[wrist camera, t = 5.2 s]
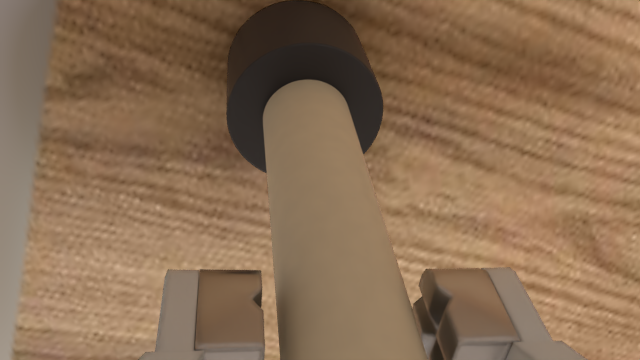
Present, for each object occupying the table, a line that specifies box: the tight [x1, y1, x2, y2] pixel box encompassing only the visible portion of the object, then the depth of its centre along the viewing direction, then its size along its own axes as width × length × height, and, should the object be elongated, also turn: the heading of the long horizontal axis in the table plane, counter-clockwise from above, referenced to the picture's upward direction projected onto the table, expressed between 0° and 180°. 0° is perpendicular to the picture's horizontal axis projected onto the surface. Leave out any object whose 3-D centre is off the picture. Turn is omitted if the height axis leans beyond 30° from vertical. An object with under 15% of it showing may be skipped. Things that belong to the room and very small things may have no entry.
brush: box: [226, 1, 428, 360], centre depth 11 cm, size 4×4×15 cm
